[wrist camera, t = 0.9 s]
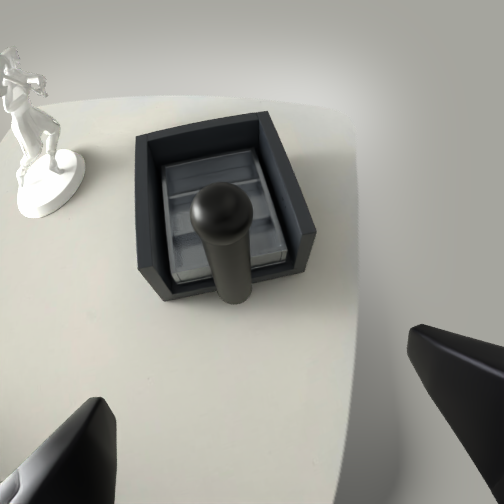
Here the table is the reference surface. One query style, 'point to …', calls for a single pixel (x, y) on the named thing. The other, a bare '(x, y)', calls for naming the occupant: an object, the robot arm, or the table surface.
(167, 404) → the table surface
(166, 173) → the pull-out drawer
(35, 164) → the figurine
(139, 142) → the grey drawer case
